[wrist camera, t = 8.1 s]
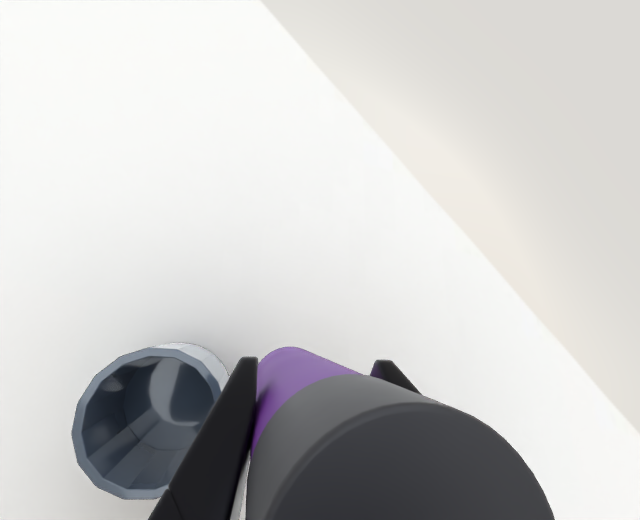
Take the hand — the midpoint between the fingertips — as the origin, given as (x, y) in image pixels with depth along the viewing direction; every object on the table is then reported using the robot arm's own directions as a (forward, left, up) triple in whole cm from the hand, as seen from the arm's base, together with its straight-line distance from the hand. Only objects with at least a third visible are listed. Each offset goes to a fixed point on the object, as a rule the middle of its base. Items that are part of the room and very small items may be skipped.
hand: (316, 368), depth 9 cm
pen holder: (-6, +2, -13) cm, 15 cm away
